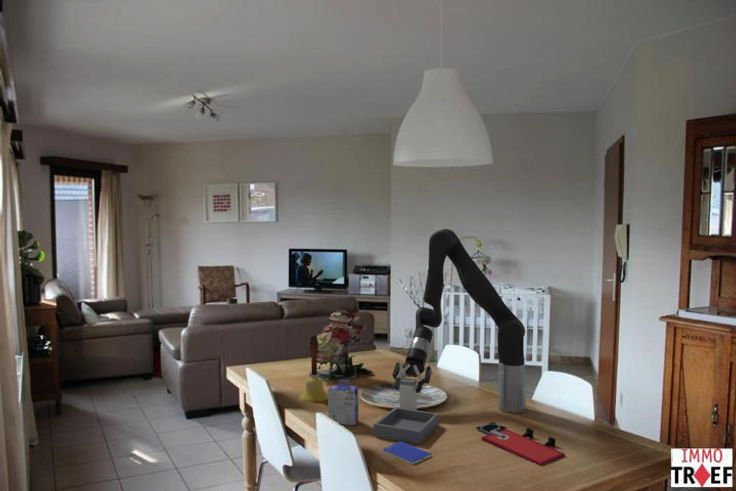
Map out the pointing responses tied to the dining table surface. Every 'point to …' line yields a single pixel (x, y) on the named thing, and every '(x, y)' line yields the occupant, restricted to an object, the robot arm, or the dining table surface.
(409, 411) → the tray
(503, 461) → the dining table surface
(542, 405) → the dining table surface
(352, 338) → the rose bouquet
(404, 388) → the grey block
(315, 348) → the handbell
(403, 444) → the hard drive
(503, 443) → the red board with handle
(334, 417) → the ink cartridge box
